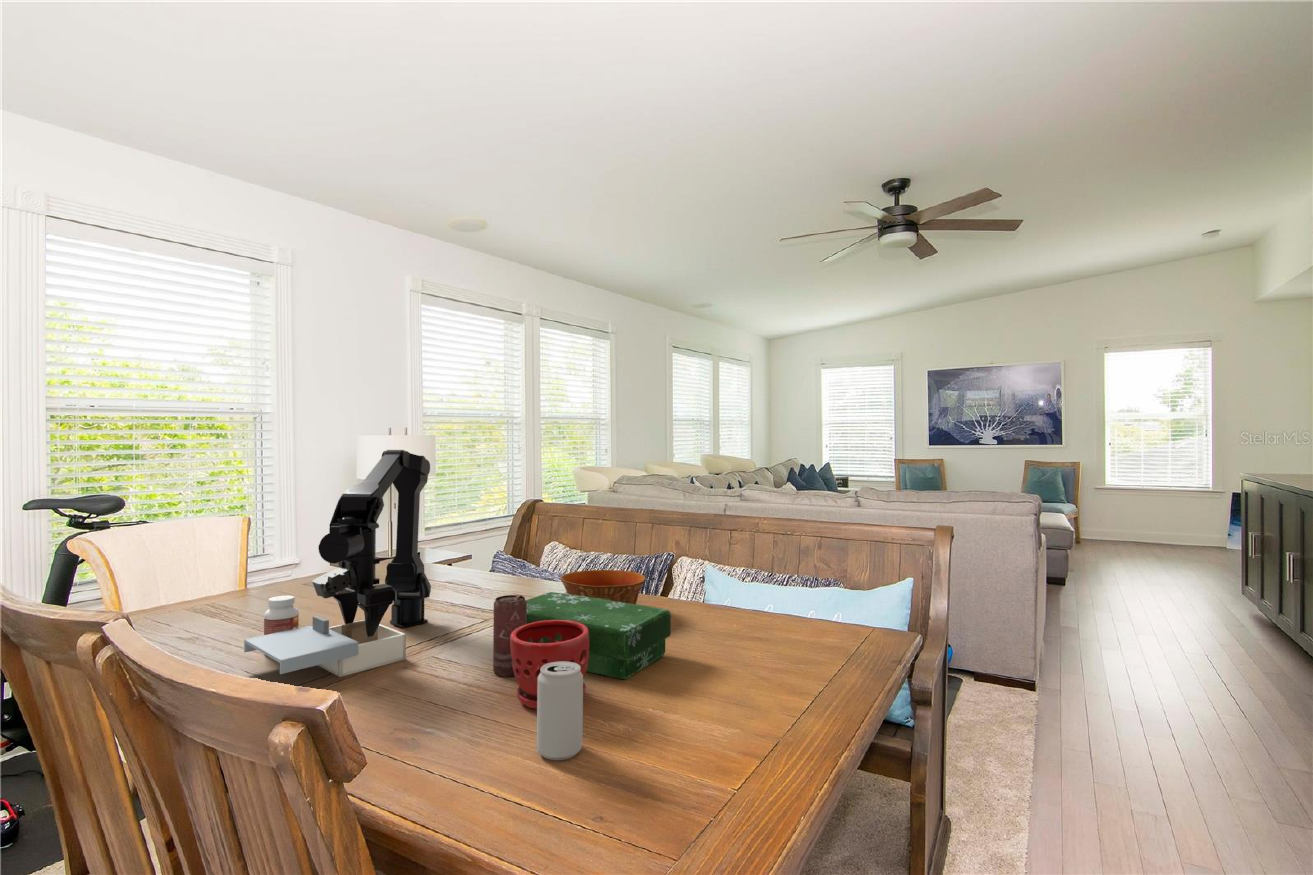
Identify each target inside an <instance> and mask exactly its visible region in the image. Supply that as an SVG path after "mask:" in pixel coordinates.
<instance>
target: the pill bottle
mask: <svg viewBox="0 0 1313 875" xmlns="http://www.w3.org/2000/svg"><path fill="white" fill-rule="evenodd" d="M295 602H296V601H295V596H294V595H278V596H273V597H270V598H268V601H267V605H268V607H269V609H267V610H266V611H265V612H264V615H263V635H268V634H273V633H278V632H283V631H287V630H292V629H297V628H300V627H299V625H300V624H299V620H300V618H299V614H300V613H299V609H298V608H297V607H296V606H294V605H295Z"/></svg>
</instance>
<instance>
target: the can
mask: <svg viewBox="0 0 1313 875" xmlns="http://www.w3.org/2000/svg"><path fill="white" fill-rule="evenodd" d="M526 600H527V599H526V598H525V596H523V595H522V594H509V595H507V594H506V595H501V596H497V597H496V598H495V601H494V602H493V634H492V635H493V642H492V646H493V647H492V648H493V652H492V654H493V655H492V669H493V670H492V671H493V672H494V674H495V675H496V676H498V677H501V678H511V677H512V678H513V677H515V675H514V671H513V665H512V656H511V649H510V636H511V633H512V632H513V631H514V630H515V629H517V628H519V627H521V626H523V625H526V624H527V602H526Z"/></svg>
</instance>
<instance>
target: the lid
mask: <svg viewBox="0 0 1313 875" xmlns="http://www.w3.org/2000/svg"><path fill="white" fill-rule="evenodd" d="M329 627H330V620H329V619H327V618H324V617H322V616H320V615H314V616H312V625H308V626H303V627H299V628H297V629H292V630H287V631H283V632H278V633H273V634H268V635H264V634H263V635H259V636H255V637H249V638H245V639H243V641H244V642H243V644H244V645H243V646H244V647H243V649H244V653H249V652H253V651H258V652H259V653H262V654H263V655H265V656H266V657H268V658H270V659H272V660H274V661H276V662H277V663H278V664H279V674H280V675H284V674H288V673H292V672H295V671H298V670H303V669H307V668H311V667H312V668H313V667H314V666H315V667H316V666H318V665H320V664H324V663H328V662H332V661H336V660H340V659H344V658H348V657H352V656H355V655H358V642H357V641H355V640H353V639H351V638H348V637H346V636H344V635H342V634H339V633H337V632H335V631H333V630H330V629H329Z"/></svg>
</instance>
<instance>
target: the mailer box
mask: <svg viewBox="0 0 1313 875" xmlns="http://www.w3.org/2000/svg"><path fill="white" fill-rule="evenodd" d="M363 620H364V619H363ZM363 620H360V621H363ZM358 621H359V620H358ZM358 621H355V622H358ZM344 624H345V623H343V624H338V625H334V626H329V629H330V630H333V631H335V632H337V633H339V634H342V625H344ZM406 639H407V633H404V632H401V631H399V630H396V629H393V628H392V627H388V626H386V625H383V624H381V623H380V624H379V626H378V640H375V641H371V642H367V643H363V644H358V655H355V656H352V657H348V658H344V659H340V660H336V661H332V662H328V663H324V664H320V665H317V667H320V668H322V669H323V670H325V671H327V672H329V673H331V674H333V675H335V676H336V677H338V678H341V677H346V676H349V675H352V674H353V675H354V674H356V673H361V672H363V671H367V670H371V669H374V668H379V667H382V666H386V665H390V664H394V663H397V662H401V661H406V660H407V651H406V650H407V640H406Z"/></svg>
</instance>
